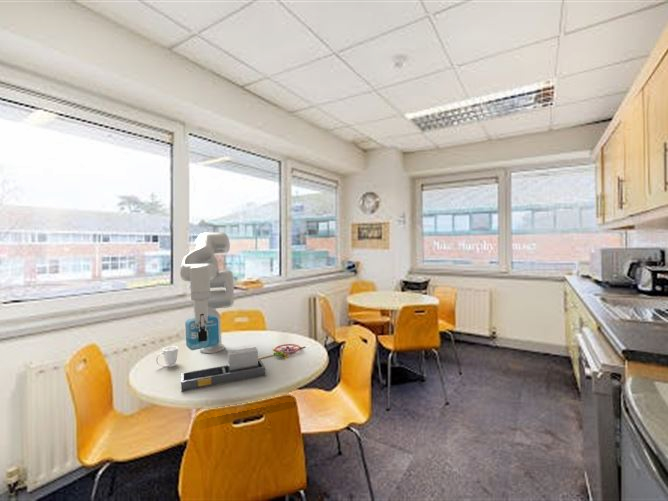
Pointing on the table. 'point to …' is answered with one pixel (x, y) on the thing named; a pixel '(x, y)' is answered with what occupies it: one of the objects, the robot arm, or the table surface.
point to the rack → (226, 371)
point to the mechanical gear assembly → (284, 350)
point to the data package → (193, 330)
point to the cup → (169, 356)
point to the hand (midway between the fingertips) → (202, 338)
